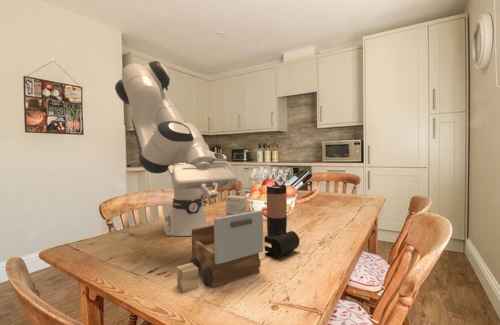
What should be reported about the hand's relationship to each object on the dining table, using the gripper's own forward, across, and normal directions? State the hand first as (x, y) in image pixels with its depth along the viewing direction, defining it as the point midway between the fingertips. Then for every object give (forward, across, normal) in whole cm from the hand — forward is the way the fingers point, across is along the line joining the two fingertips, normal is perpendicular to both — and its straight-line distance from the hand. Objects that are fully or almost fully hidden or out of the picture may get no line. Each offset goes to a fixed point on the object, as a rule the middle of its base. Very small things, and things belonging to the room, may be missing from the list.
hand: (212, 196), depth 79 cm
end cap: (+18, +22, +11) cm, 31 cm away
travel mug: (+9, +31, +21) cm, 38 cm away
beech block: (+20, -11, +9) cm, 24 cm away
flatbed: (+18, +1, +11) cm, 21 cm away
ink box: (-13, +31, +42) cm, 54 cm away
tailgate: (+18, +1, +1) cm, 19 cm away
